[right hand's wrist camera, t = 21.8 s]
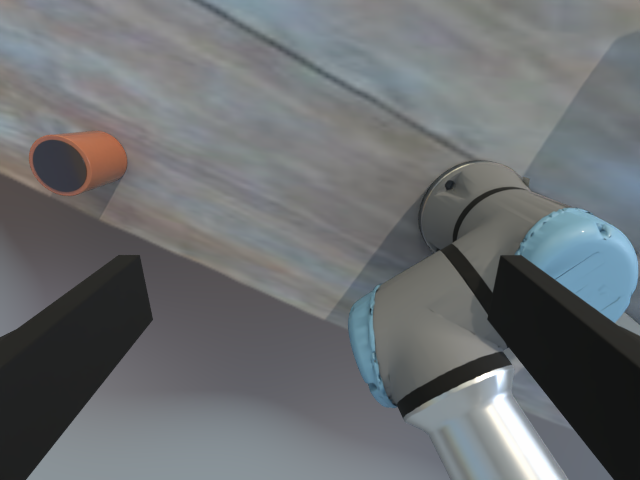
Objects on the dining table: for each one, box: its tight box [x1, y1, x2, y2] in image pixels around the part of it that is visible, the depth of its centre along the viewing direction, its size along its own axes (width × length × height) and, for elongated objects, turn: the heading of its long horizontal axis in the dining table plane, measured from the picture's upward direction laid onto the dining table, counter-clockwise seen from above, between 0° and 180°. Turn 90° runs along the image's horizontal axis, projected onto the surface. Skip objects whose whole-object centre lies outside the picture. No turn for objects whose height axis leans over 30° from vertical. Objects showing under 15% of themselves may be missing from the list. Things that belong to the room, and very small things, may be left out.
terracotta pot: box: [29, 131, 127, 196], centre depth 43 cm, size 7×7×8 cm
